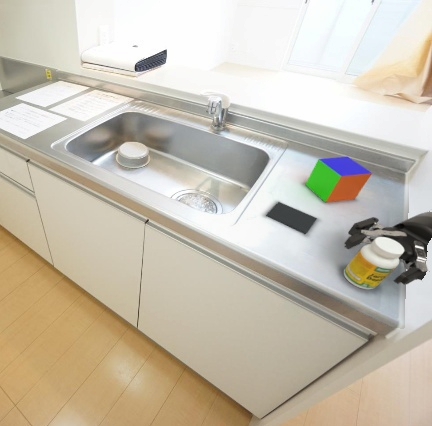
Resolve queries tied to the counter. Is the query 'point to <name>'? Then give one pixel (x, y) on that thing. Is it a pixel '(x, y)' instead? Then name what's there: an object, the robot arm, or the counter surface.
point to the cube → (337, 179)
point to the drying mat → (291, 217)
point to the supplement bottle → (374, 263)
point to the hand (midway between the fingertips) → (372, 261)
